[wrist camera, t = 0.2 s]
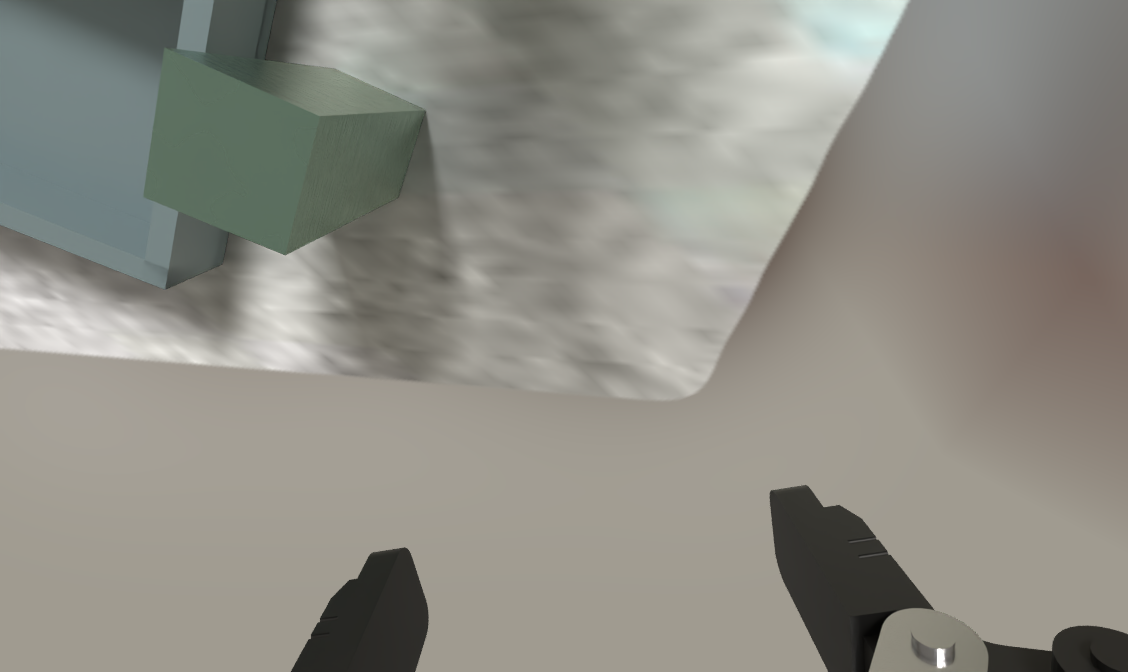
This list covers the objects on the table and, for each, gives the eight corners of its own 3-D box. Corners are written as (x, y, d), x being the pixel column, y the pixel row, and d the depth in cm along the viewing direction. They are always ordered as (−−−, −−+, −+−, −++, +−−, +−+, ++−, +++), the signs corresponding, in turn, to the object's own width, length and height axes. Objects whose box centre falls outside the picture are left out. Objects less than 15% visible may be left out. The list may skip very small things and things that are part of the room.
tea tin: (334, 68, 30) (164, 47, 18) (425, 110, 30) (320, 116, 18) (311, 160, 32) (143, 196, 20) (397, 197, 32) (285, 255, 20)
